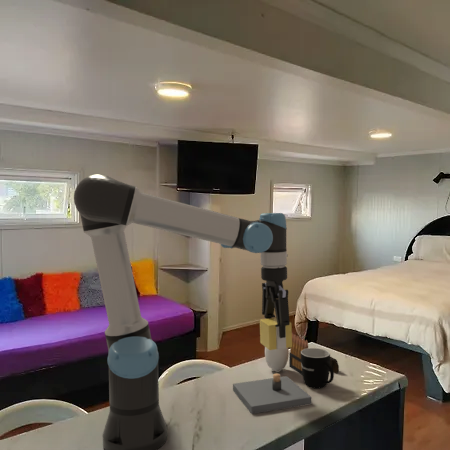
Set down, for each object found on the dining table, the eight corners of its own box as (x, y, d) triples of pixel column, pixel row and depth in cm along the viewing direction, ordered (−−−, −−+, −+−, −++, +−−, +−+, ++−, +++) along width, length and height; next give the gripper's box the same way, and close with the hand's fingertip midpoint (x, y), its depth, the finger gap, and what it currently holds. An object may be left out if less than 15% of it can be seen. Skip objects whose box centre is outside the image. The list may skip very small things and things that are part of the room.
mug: (295, 382, 136) (294, 351, 136) (316, 376, 141) (316, 346, 141) (321, 396, 126) (321, 362, 126) (343, 389, 131) (343, 356, 130)
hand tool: (297, 358, 159) (297, 346, 159) (306, 356, 161) (305, 344, 160) (331, 376, 142) (331, 362, 142) (341, 374, 144) (341, 360, 144)
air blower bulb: (292, 370, 147) (292, 317, 146) (280, 377, 141) (279, 322, 141) (274, 364, 152) (273, 314, 152) (260, 371, 146) (260, 318, 146)
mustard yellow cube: (269, 350, 122) (268, 325, 122) (260, 342, 129) (259, 319, 128) (292, 346, 124) (291, 322, 124) (281, 339, 131) (281, 317, 131)
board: (251, 414, 116) (251, 390, 116) (232, 390, 132) (232, 369, 131) (311, 404, 122) (311, 381, 121) (286, 382, 137) (286, 362, 137)
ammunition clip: (310, 376, 141) (310, 340, 141) (305, 377, 141) (305, 341, 140) (293, 365, 151) (293, 331, 151) (289, 366, 151) (288, 332, 150)
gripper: (301, 269, 117) (303, 353, 118) (272, 261, 136) (273, 333, 137) (276, 271, 115) (277, 356, 116) (249, 262, 134) (251, 336, 135)
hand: (275, 344), depth 126 cm, fingers closed on mustard yellow cube, 7 cm apart
